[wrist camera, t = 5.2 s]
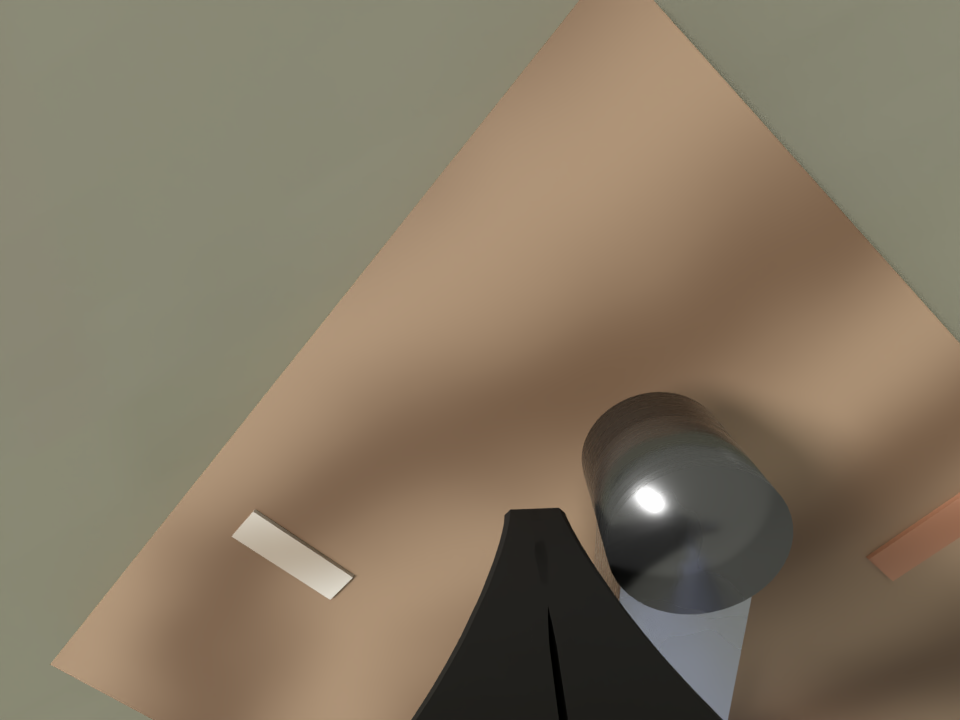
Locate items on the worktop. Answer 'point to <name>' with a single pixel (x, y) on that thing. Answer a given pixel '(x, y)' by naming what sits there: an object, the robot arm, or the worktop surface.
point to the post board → (569, 415)
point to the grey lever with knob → (683, 532)
